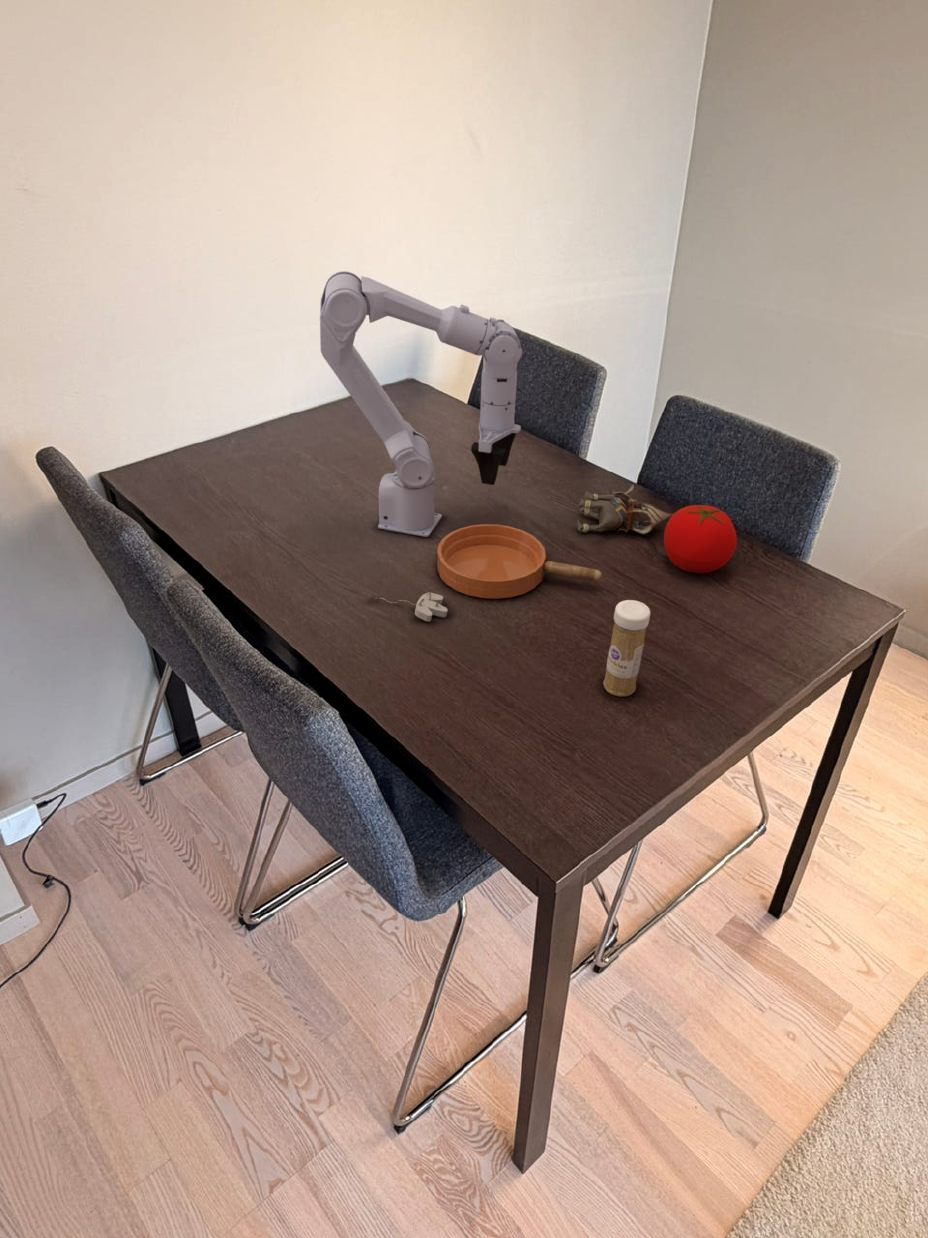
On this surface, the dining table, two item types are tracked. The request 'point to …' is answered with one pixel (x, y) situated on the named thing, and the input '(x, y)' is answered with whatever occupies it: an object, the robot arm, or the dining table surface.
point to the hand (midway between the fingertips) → (494, 473)
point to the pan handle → (572, 571)
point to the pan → (491, 561)
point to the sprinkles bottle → (626, 647)
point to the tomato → (699, 539)
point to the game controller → (429, 606)
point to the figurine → (619, 512)
